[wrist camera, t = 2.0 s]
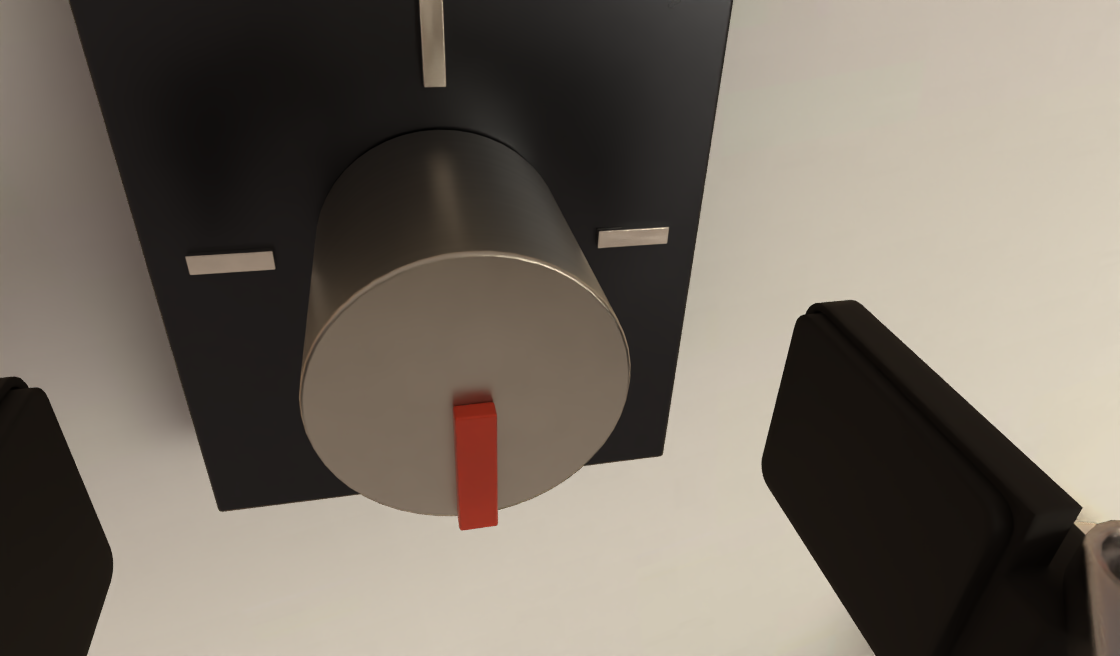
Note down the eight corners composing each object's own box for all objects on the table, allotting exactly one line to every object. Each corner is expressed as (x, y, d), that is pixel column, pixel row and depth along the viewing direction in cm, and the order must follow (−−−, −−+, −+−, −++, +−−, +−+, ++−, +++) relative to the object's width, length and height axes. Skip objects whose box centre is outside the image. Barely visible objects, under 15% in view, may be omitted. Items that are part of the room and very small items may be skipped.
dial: (298, 132, 12) (267, 278, 8) (566, 124, 13) (655, 252, 9) (332, 357, 14) (322, 553, 10) (556, 337, 15) (623, 511, 11)
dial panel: (88, -161, 12) (14, -159, 9) (685, -135, 14) (759, -127, 11) (237, 423, 18) (216, 519, 16) (627, 382, 20) (665, 461, 18)
